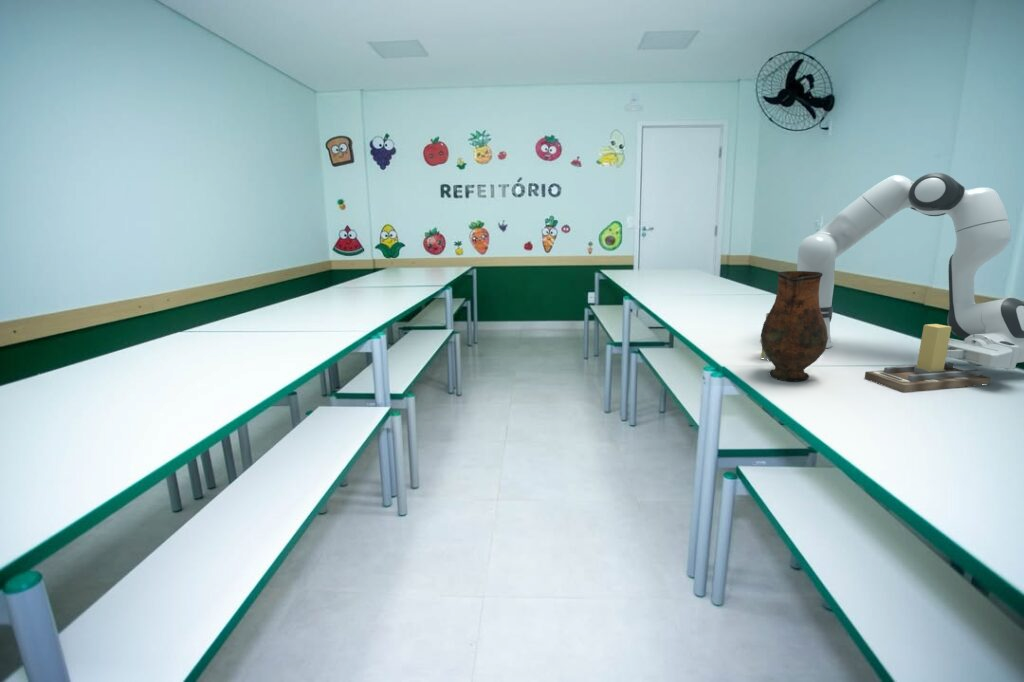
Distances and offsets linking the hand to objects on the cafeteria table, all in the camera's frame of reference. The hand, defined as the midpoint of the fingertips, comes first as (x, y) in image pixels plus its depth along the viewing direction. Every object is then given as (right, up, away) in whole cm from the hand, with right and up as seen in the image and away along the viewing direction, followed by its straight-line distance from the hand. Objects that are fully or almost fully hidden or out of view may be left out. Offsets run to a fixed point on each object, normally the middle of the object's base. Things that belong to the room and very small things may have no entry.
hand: (938, 353), depth 134 cm
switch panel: (-3, -8, +1) cm, 8 cm away
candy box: (-31, -2, +28) cm, 41 cm away
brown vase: (-34, -7, +11) cm, 37 cm away
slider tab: (-2, -6, +1) cm, 6 cm away
